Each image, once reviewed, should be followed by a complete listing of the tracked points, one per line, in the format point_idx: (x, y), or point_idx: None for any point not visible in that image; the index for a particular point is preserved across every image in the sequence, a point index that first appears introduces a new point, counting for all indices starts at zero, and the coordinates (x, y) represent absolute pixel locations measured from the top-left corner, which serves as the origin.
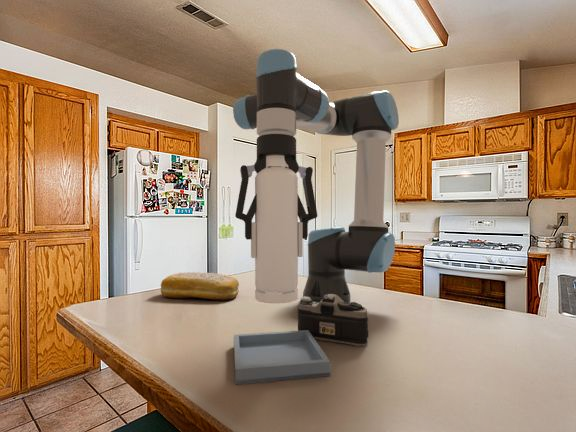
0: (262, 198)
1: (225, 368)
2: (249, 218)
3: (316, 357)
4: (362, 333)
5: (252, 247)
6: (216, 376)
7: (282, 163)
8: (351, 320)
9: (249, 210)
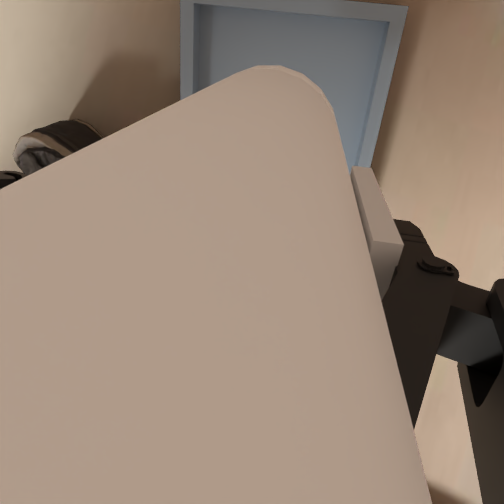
0: (360, 285)
1: (401, 100)
2: (429, 263)
3: (197, 66)
4: (61, 123)
5: (375, 184)
6: (431, 64)
7: None
8: (69, 145)
9: (445, 305)
